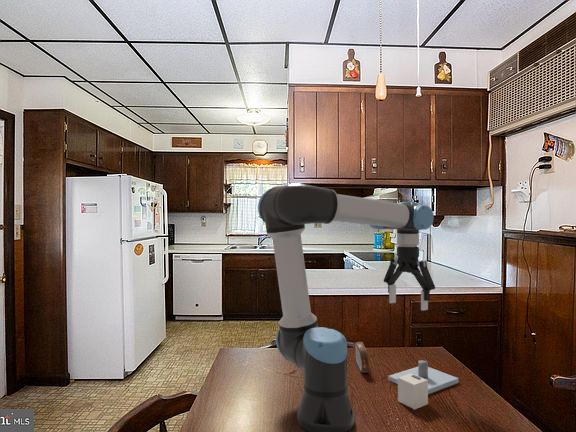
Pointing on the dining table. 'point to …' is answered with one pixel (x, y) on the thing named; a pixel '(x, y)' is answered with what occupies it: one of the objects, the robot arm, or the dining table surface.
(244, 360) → the dining table surface
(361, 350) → the tin
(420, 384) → the cream box with handle
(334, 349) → the robot arm
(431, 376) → the panel
